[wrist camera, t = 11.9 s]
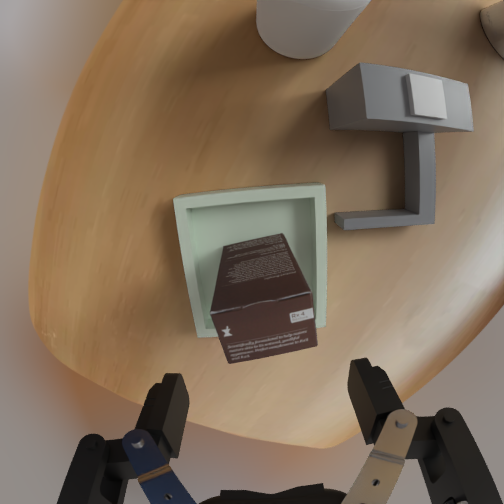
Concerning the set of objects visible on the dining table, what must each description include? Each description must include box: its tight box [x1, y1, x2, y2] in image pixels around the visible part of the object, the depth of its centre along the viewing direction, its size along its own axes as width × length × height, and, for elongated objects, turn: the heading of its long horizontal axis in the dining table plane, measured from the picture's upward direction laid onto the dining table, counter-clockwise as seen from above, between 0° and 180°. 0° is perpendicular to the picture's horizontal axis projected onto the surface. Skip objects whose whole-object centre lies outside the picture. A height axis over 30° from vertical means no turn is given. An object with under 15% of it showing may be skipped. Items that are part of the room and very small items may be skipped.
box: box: [210, 233, 318, 364], centre depth 22 cm, size 6×4×12 cm
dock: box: [326, 63, 474, 230], centre depth 21 cm, size 10×13×10 cm
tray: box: [173, 182, 327, 338], centre depth 27 cm, size 13×14×3 cm
